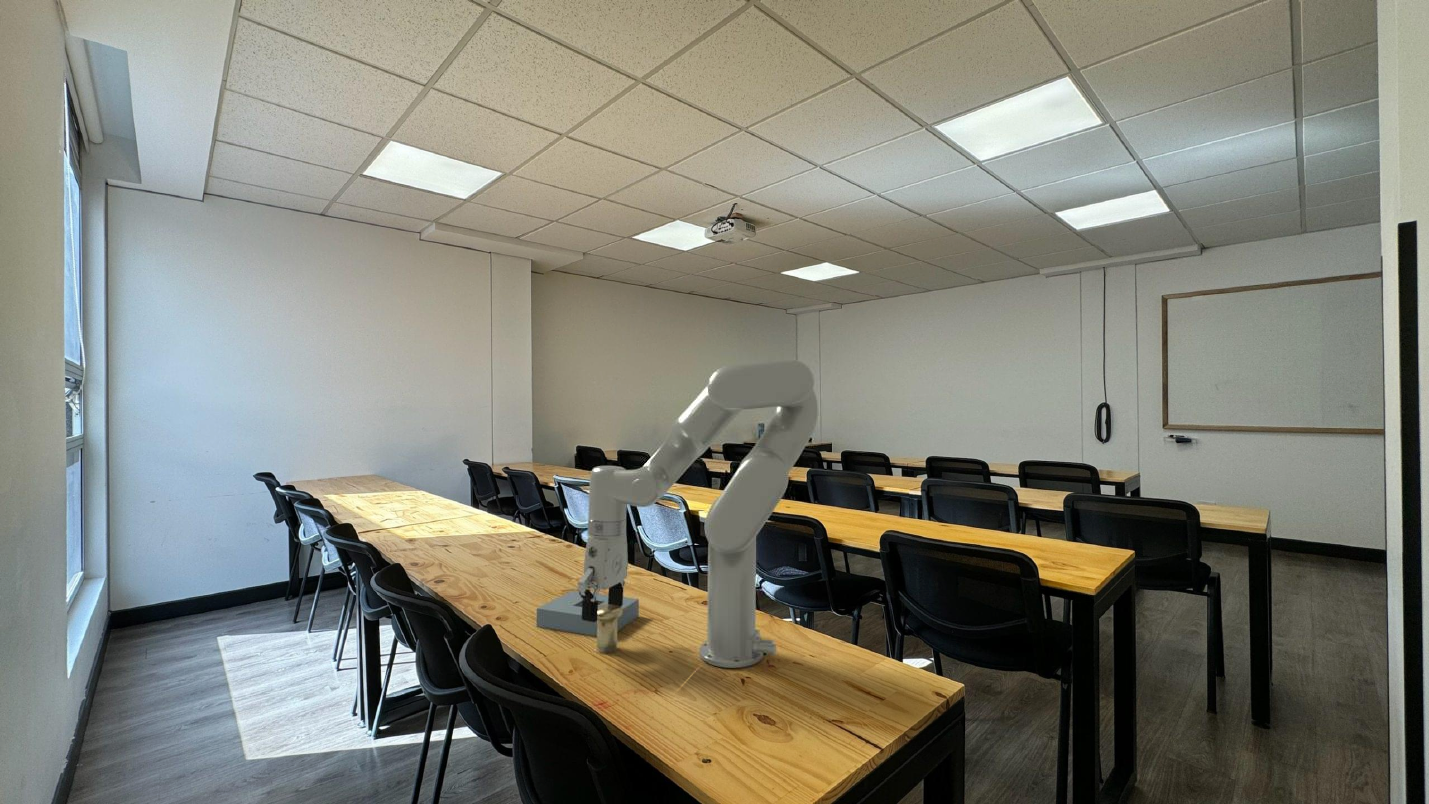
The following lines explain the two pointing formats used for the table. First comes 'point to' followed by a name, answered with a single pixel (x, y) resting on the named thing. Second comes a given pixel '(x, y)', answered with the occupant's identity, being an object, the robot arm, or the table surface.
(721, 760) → the table surface
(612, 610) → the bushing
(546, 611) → the jig
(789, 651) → the table surface
